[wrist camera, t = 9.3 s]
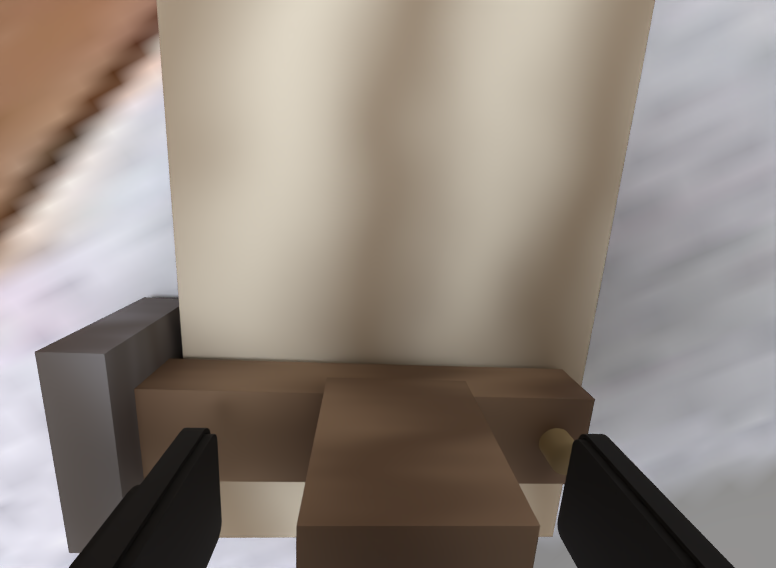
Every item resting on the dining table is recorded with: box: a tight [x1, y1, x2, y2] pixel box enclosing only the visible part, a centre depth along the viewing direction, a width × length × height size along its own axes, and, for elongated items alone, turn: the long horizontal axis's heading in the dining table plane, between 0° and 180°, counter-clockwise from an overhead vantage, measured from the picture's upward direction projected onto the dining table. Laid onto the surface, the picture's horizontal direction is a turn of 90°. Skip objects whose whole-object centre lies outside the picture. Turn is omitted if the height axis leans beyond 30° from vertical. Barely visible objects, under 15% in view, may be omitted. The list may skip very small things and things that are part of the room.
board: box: [157, 0, 655, 538], centre depth 13 cm, size 14×26×2 cm, turn 177°
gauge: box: [35, 297, 595, 568], centre depth 11 cm, size 15×6×9 cm, turn 87°
